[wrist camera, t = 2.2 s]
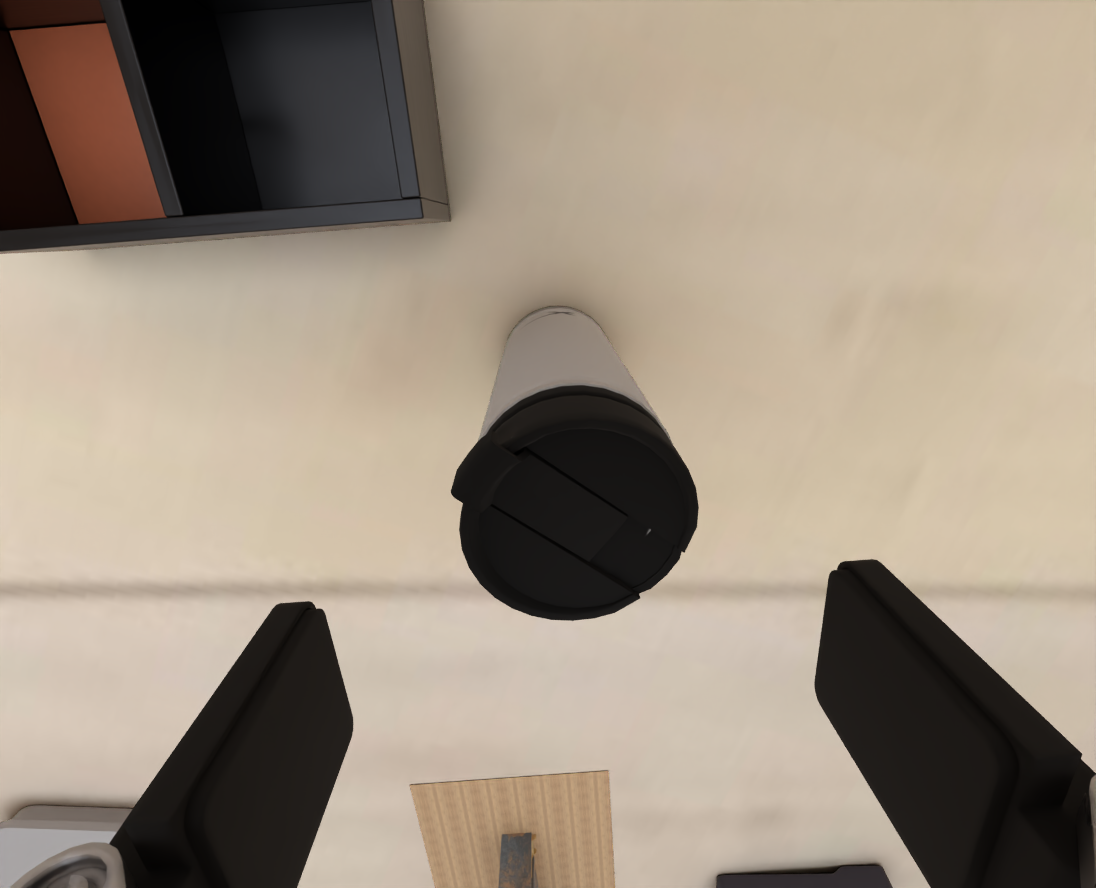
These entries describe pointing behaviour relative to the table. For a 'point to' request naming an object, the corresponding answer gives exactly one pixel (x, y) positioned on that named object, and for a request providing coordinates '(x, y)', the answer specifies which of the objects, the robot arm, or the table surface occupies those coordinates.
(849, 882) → the calculator
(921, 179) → the table surface
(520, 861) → the architectural model on board
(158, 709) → the table surface
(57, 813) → the grey flat block
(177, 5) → the caddy
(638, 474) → the travel mug
